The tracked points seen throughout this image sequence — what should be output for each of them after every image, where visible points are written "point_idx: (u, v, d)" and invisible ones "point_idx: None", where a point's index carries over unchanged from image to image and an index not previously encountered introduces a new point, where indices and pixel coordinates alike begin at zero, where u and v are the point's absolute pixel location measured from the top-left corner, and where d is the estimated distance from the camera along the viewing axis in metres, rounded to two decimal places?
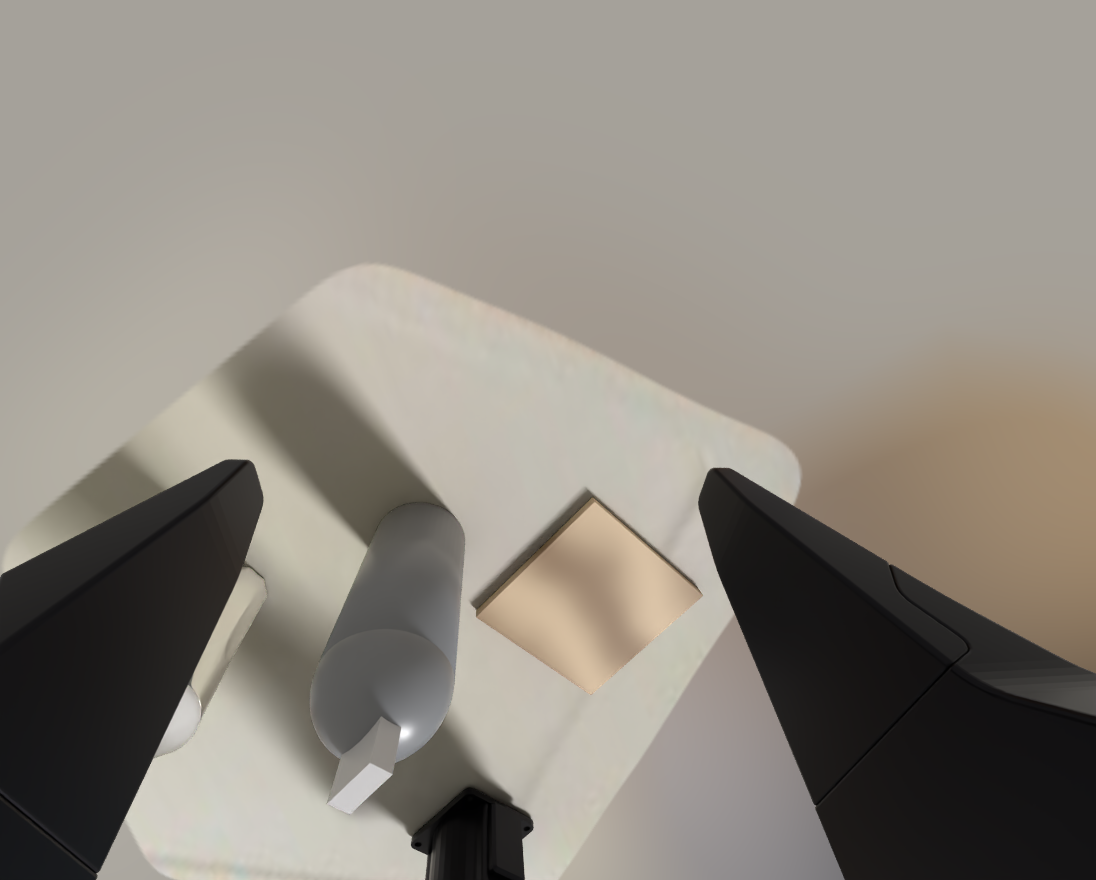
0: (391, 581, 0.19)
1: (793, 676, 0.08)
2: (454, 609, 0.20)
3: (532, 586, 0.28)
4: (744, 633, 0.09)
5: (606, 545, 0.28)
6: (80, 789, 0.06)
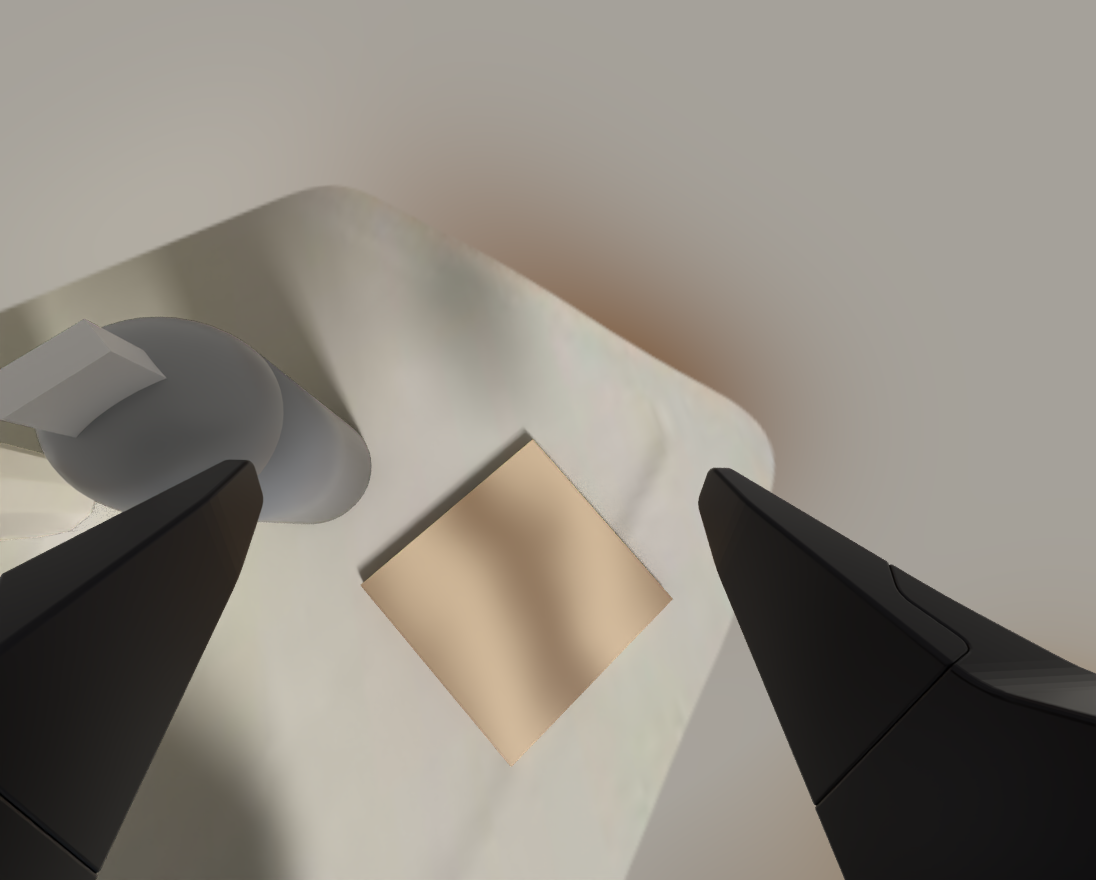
0: None
1: (793, 676, 0.08)
2: (320, 424, 0.15)
3: (444, 546, 0.21)
4: (744, 633, 0.09)
5: (544, 500, 0.22)
6: (80, 789, 0.06)
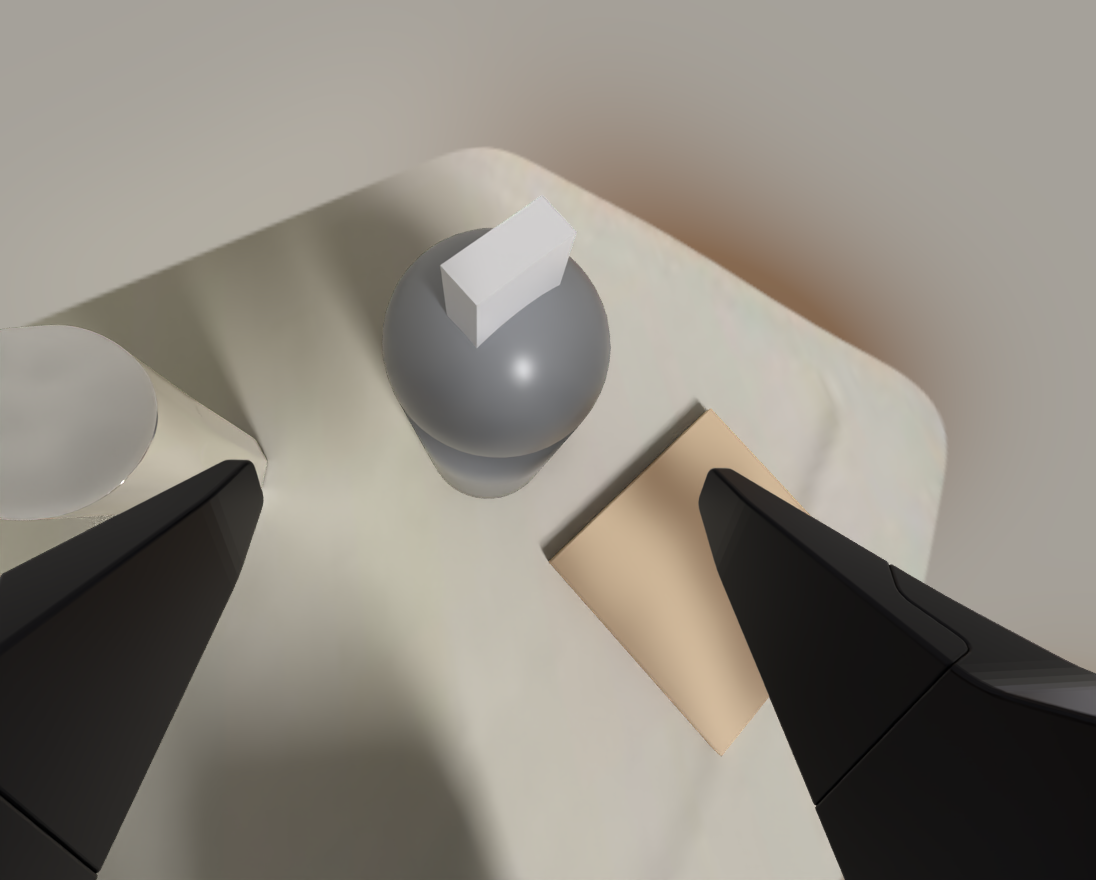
0: None
1: (793, 676, 0.08)
2: None
3: (632, 520, 0.20)
4: (744, 634, 0.09)
5: None
6: (80, 789, 0.05)
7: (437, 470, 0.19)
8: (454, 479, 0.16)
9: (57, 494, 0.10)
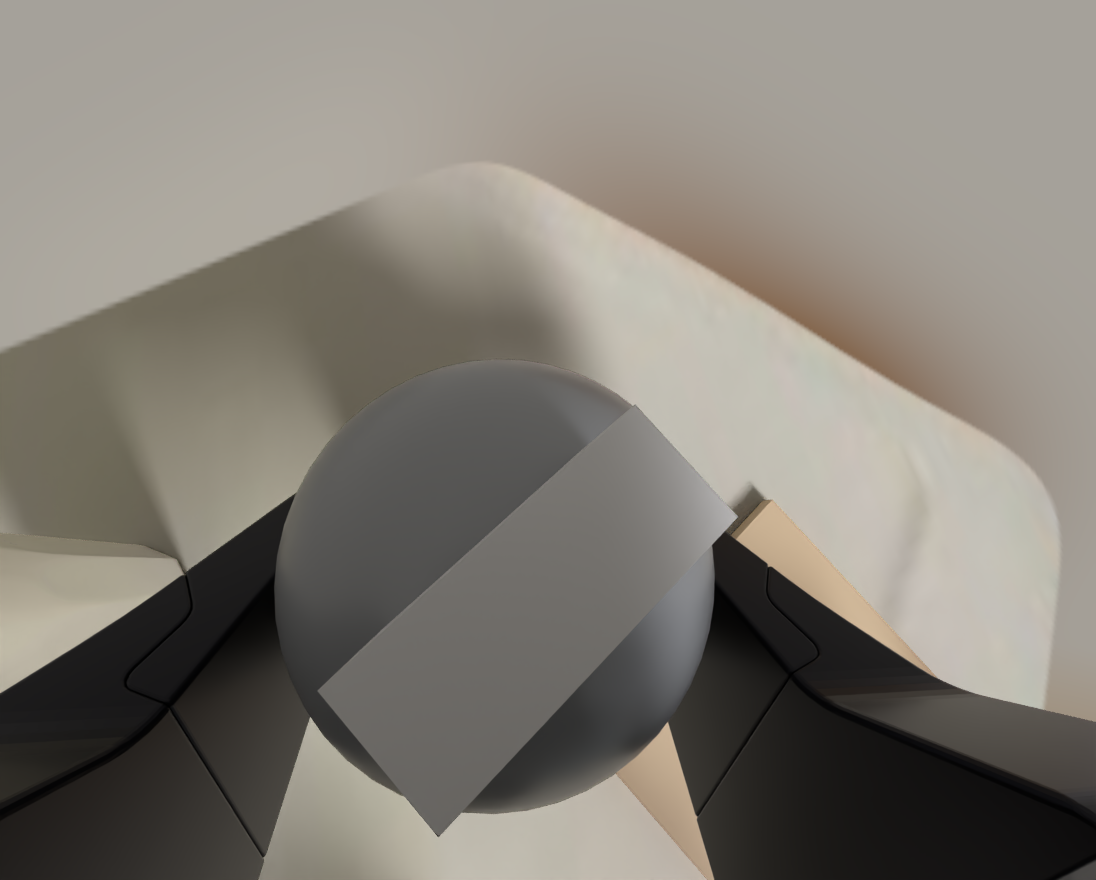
0: None
1: None
2: None
3: None
4: None
5: (797, 585, 0.16)
6: (259, 776, 0.06)
7: None
8: None
9: None
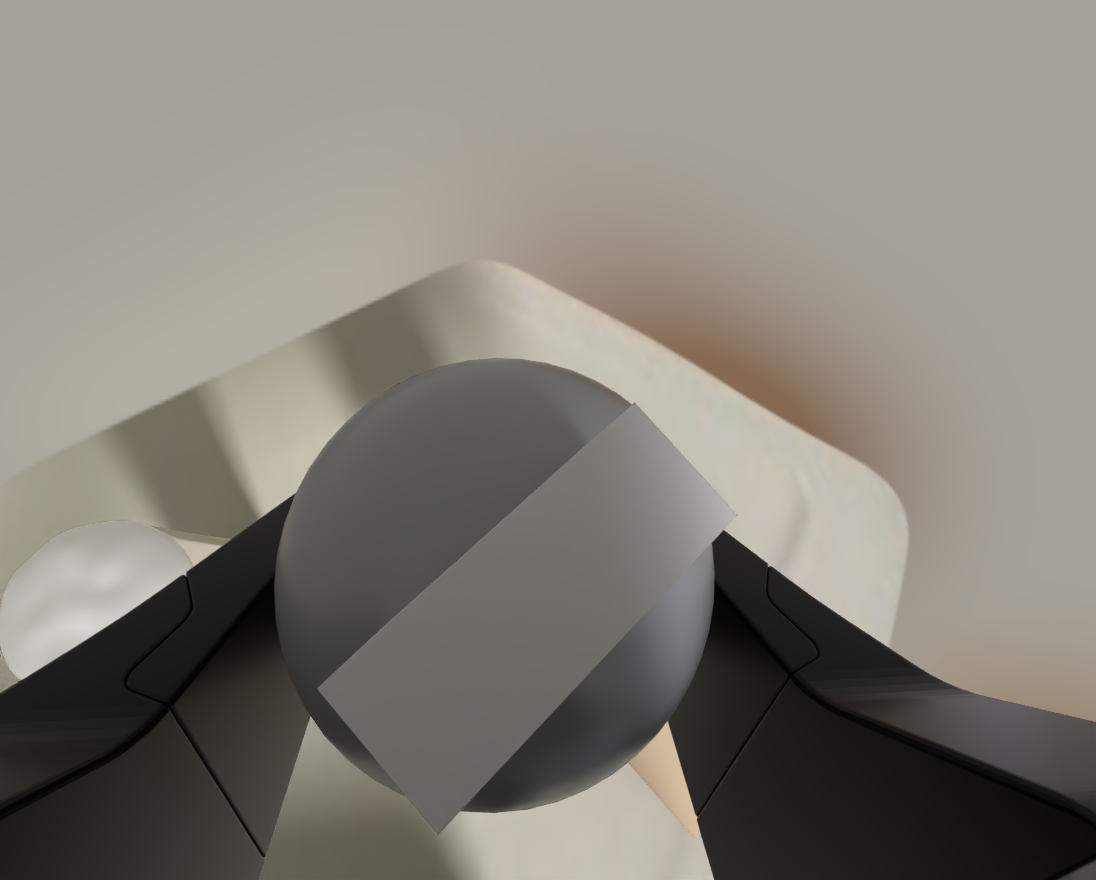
0: None
1: None
2: None
3: None
4: None
5: None
6: (258, 776, 0.06)
7: None
8: None
9: None
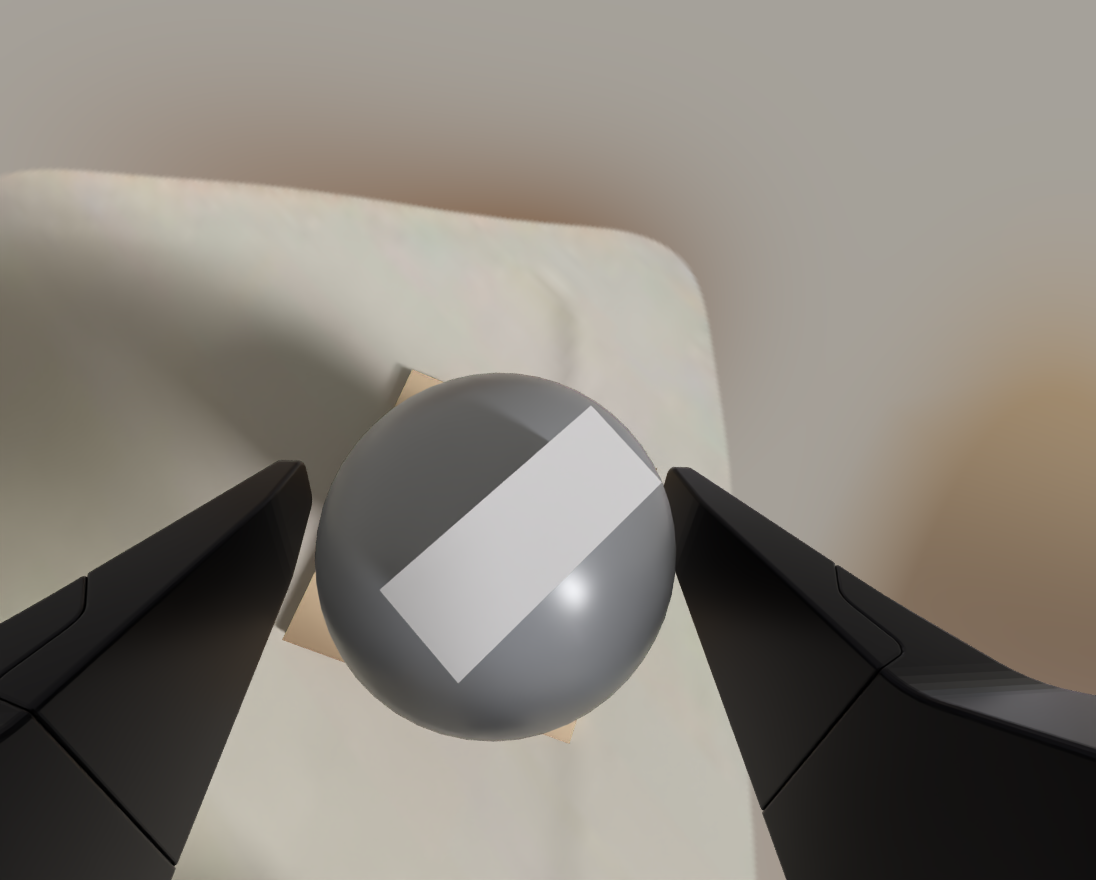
0: None
1: (742, 679, 0.07)
2: None
3: None
4: (699, 636, 0.09)
5: None
6: (164, 783, 0.06)
7: None
8: None
9: None
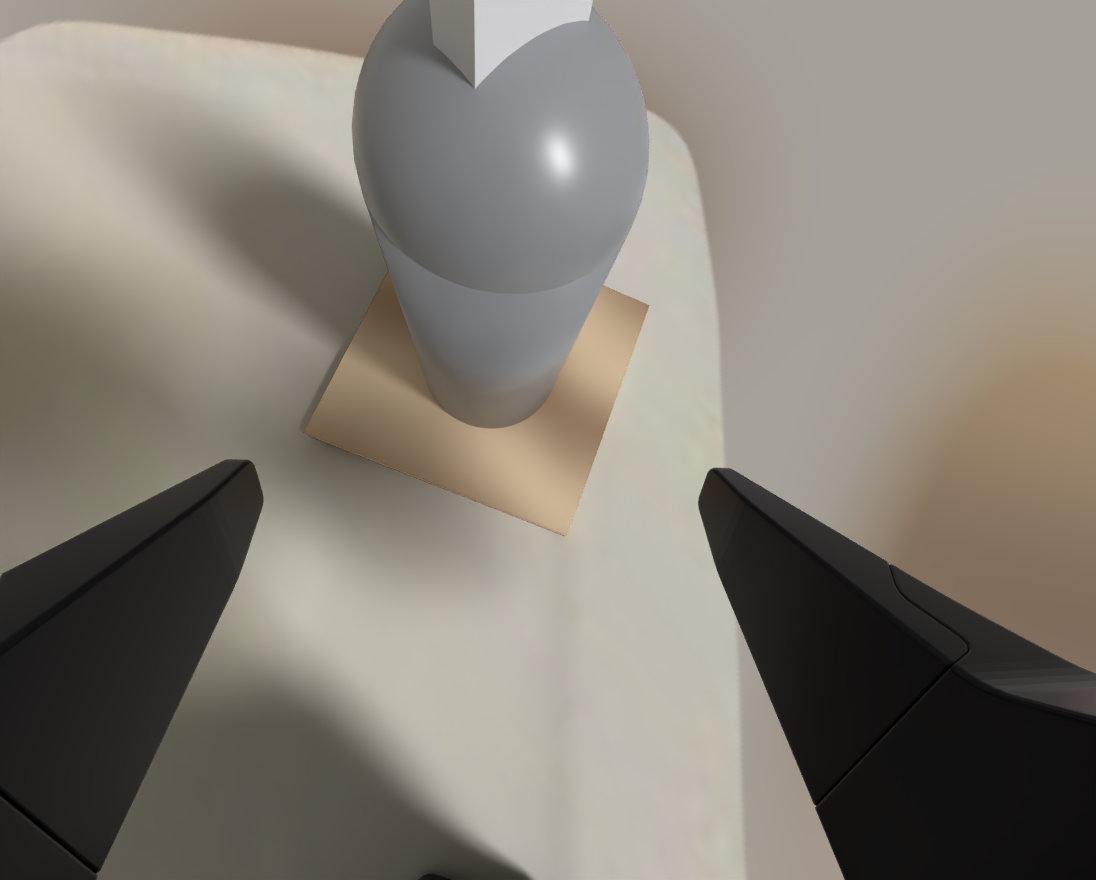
0: None
1: (793, 676, 0.08)
2: None
3: (379, 353, 0.18)
4: (744, 634, 0.09)
5: None
6: (80, 789, 0.06)
7: (433, 393, 0.17)
8: (451, 388, 0.14)
9: None
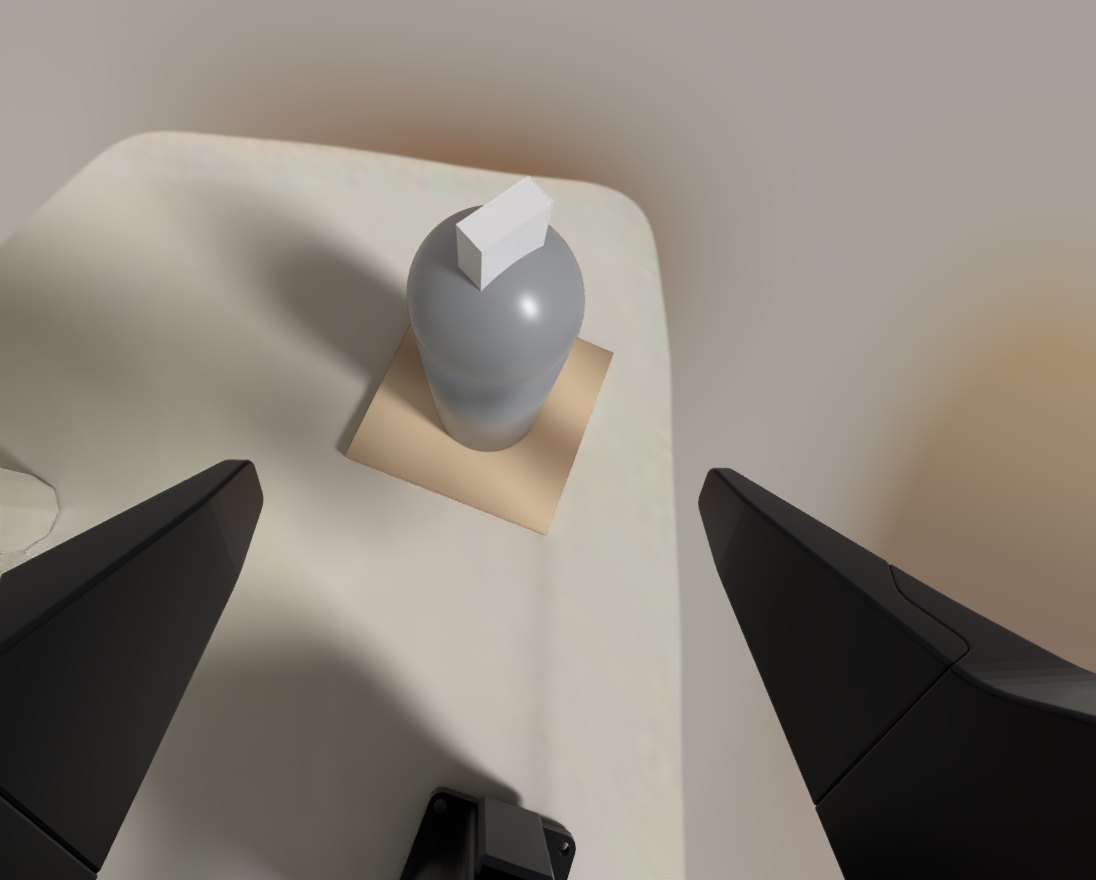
0: None
1: (793, 676, 0.08)
2: None
3: (402, 394, 0.23)
4: (744, 634, 0.09)
5: None
6: (80, 789, 0.06)
7: (443, 425, 0.22)
8: (459, 426, 0.19)
9: None
